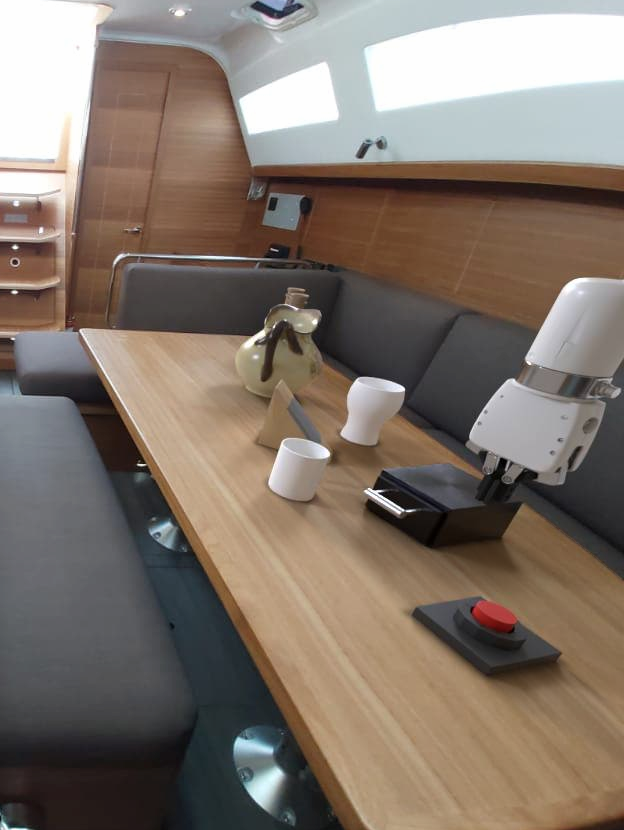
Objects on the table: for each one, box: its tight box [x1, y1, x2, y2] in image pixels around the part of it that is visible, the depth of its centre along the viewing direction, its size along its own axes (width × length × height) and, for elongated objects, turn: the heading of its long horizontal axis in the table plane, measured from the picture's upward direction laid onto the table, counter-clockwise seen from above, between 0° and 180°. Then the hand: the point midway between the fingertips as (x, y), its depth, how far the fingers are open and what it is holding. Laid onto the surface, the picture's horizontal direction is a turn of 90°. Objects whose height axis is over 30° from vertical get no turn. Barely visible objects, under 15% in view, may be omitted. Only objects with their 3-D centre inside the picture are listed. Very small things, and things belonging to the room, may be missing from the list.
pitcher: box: [234, 303, 323, 399], centre depth 145 cm, size 22×24×25 cm
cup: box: [339, 376, 406, 446], centre depth 121 cm, size 11×11×15 cm
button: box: [472, 600, 518, 633], centre depth 67 cm, size 4×4×2 cm
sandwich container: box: [257, 379, 333, 465], centre depth 115 cm, size 9×15×15 cm, turn 52°
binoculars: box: [284, 287, 310, 309], centre depth 172 cm, size 21×10×25 cm, turn 155°
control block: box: [411, 595, 563, 677], centre depth 69 cm, size 12×10×4 cm
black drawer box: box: [379, 462, 525, 549], centre depth 92 cm, size 16×13×9 cm
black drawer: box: [363, 475, 446, 546], centre depth 91 cm, size 20×12×7 cm, turn 102°
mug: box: [268, 438, 330, 502], centre depth 101 cm, size 12×8×10 cm
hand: (488, 501), depth 70 cm, fingers closed
